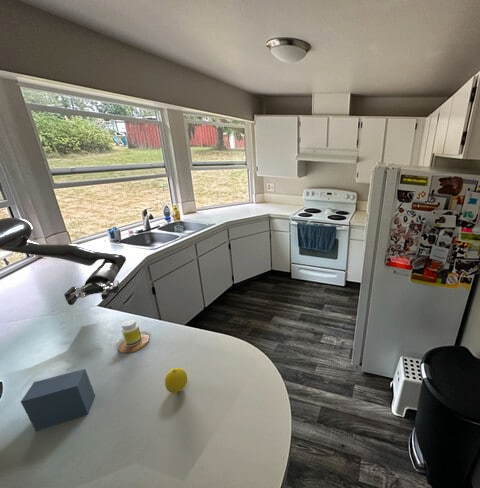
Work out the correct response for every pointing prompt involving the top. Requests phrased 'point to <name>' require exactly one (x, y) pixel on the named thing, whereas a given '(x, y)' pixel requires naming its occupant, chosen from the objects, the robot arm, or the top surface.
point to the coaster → (130, 349)
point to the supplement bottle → (131, 332)
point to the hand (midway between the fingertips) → (87, 300)
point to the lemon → (175, 380)
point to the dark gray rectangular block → (58, 399)
